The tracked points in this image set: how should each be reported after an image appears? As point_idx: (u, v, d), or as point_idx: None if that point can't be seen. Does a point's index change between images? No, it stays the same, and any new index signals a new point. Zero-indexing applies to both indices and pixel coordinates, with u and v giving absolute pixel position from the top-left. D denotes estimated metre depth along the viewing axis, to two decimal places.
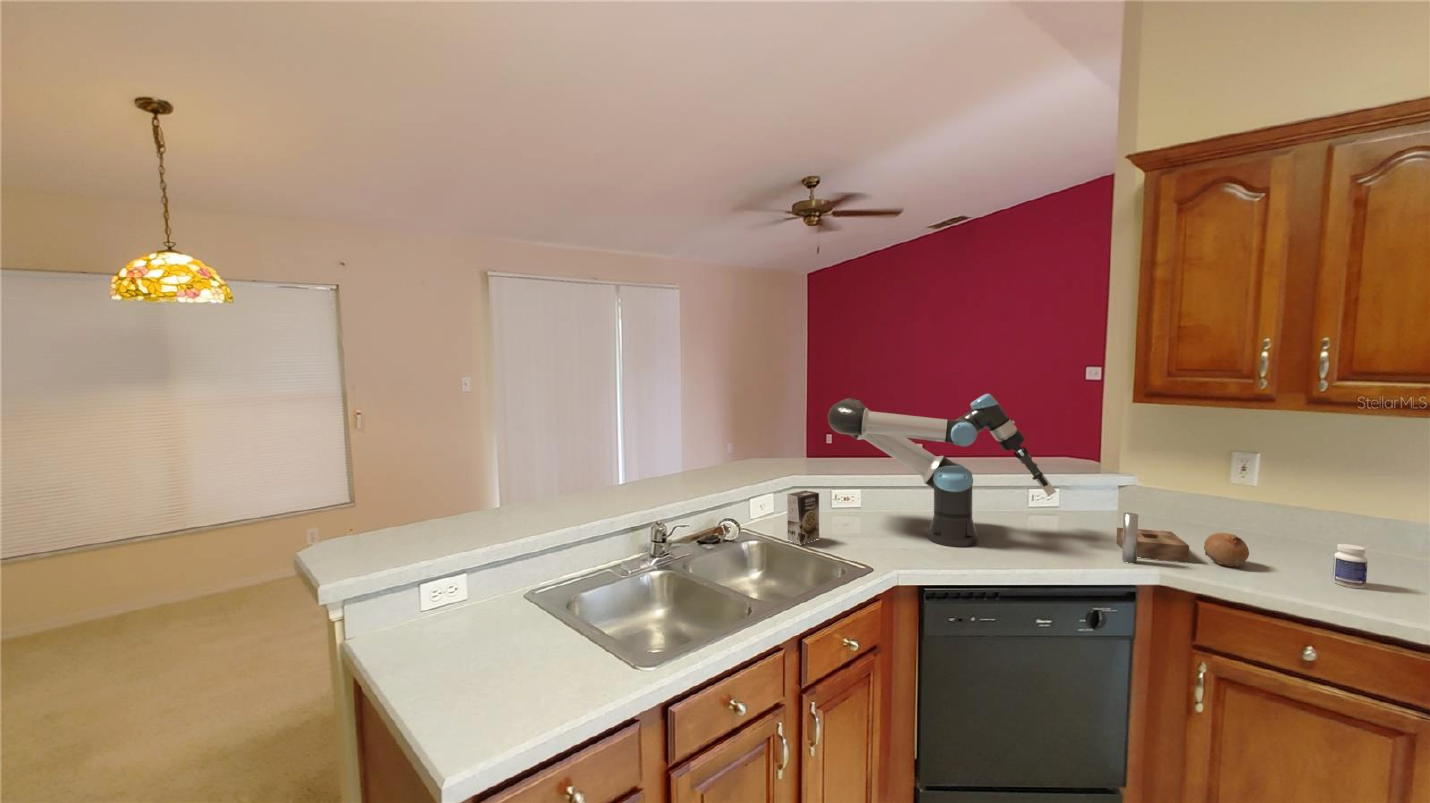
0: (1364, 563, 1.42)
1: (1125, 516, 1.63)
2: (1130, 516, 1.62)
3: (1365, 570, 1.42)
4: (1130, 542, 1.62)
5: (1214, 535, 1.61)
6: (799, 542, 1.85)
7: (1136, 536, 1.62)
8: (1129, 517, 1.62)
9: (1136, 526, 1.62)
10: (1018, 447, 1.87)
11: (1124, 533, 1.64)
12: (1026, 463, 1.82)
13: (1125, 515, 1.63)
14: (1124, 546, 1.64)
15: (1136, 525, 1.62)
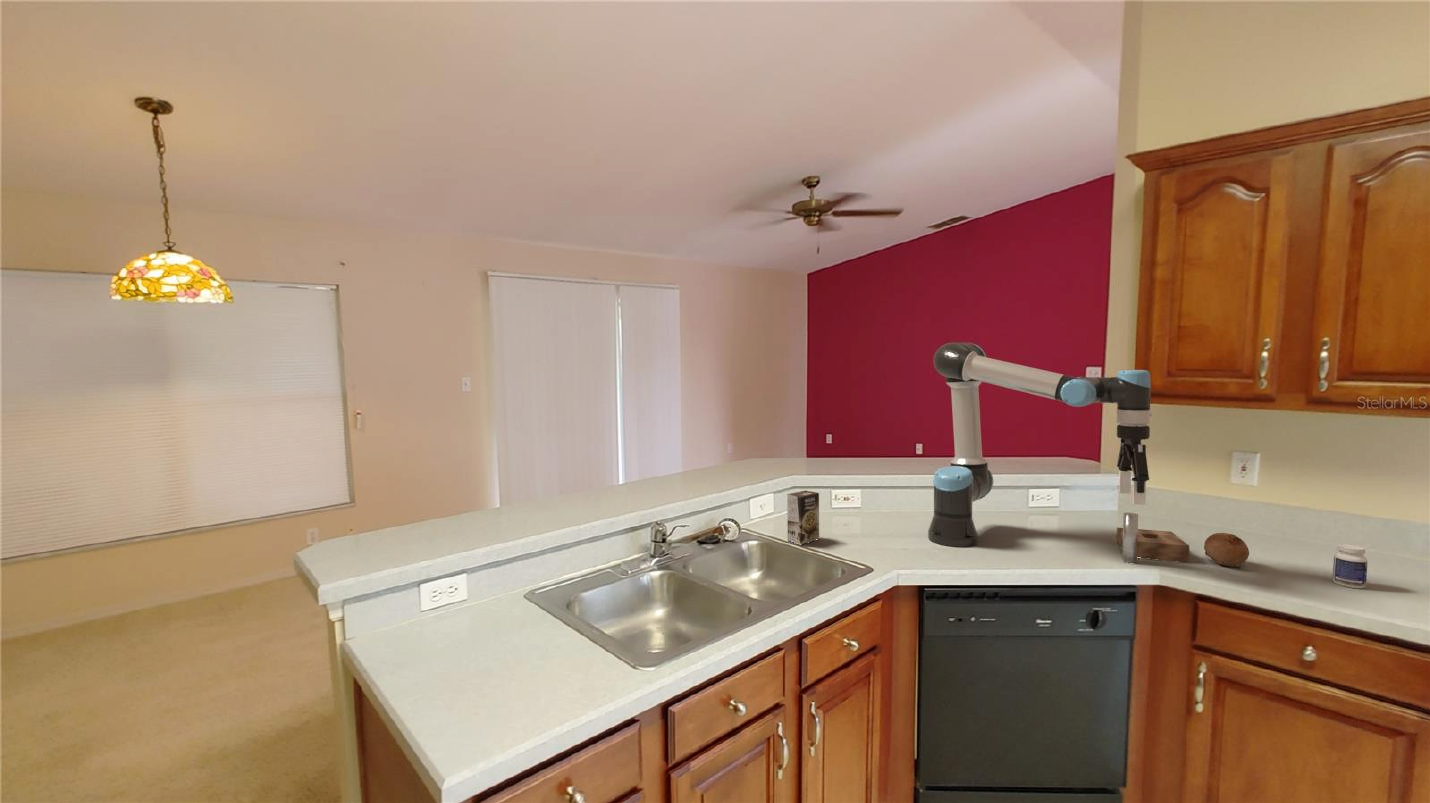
0: (1364, 563, 1.42)
1: (1125, 516, 1.63)
2: (1130, 516, 1.62)
3: (1365, 570, 1.42)
4: (1130, 542, 1.62)
5: (1214, 535, 1.61)
6: (799, 542, 1.85)
7: (1136, 536, 1.62)
8: (1129, 517, 1.62)
9: (1136, 526, 1.62)
10: (1138, 441, 1.58)
11: (1124, 533, 1.64)
12: (1138, 460, 1.55)
13: (1125, 515, 1.63)
14: (1124, 546, 1.64)
15: (1136, 525, 1.62)
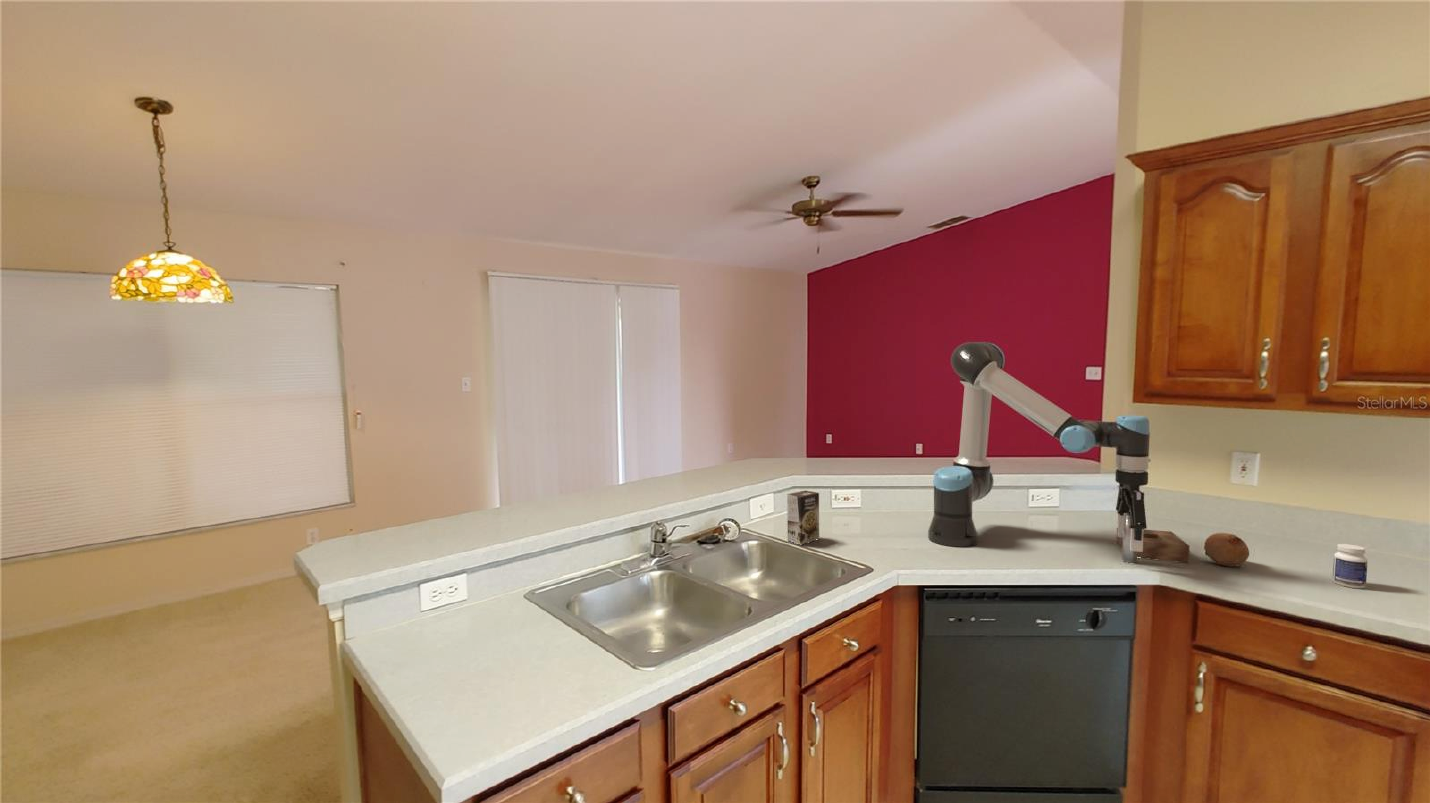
0: (1364, 563, 1.42)
1: (1125, 516, 1.63)
2: (1130, 516, 1.62)
3: (1365, 570, 1.42)
4: None
5: (1214, 535, 1.61)
6: (799, 542, 1.85)
7: None
8: (1129, 517, 1.62)
9: None
10: (1137, 487, 1.59)
11: (1124, 533, 1.64)
12: (1136, 508, 1.56)
13: (1125, 515, 1.63)
14: (1124, 546, 1.64)
15: None
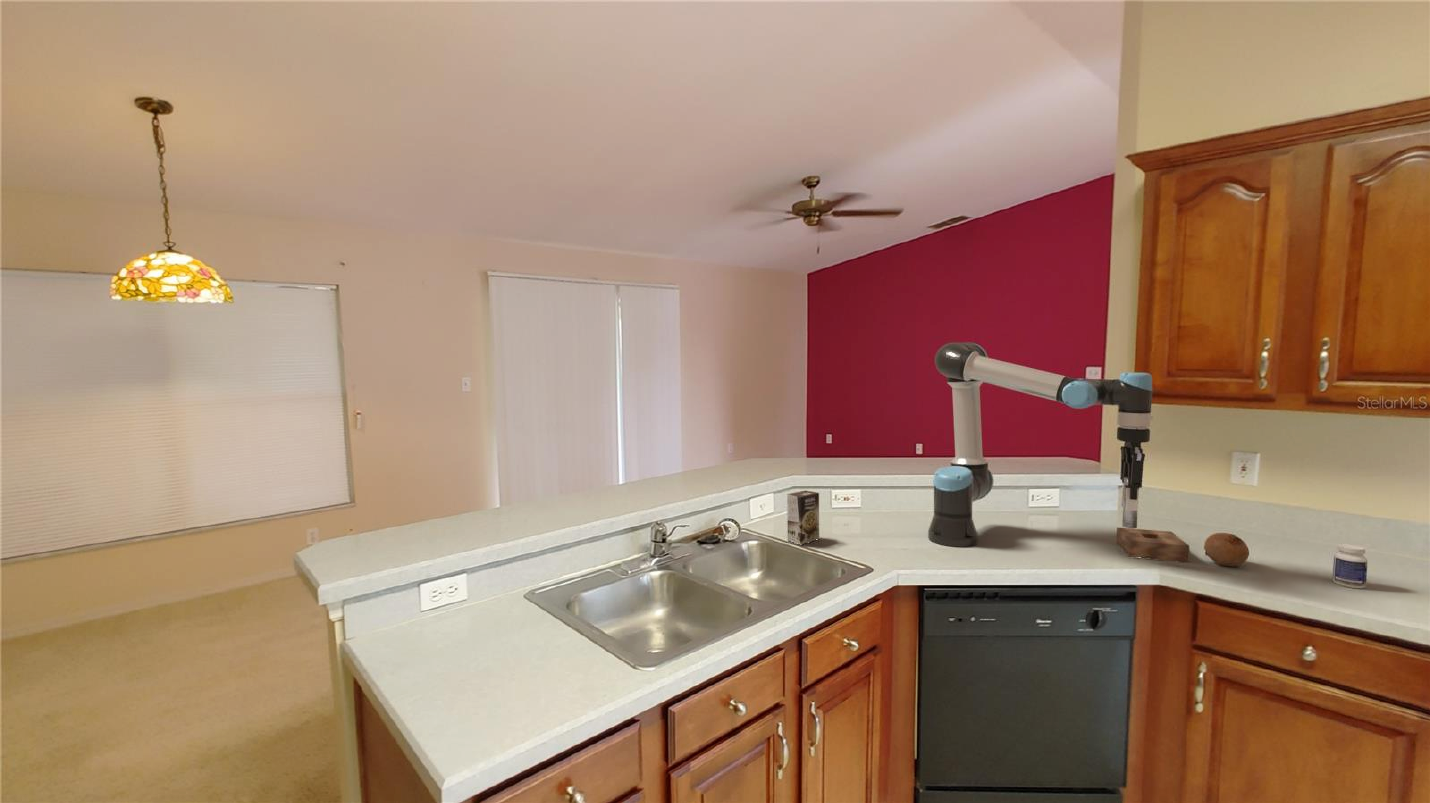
0: (1364, 563, 1.42)
1: (1126, 480, 1.62)
2: None
3: (1365, 570, 1.42)
4: None
5: (1214, 535, 1.61)
6: (799, 542, 1.85)
7: None
8: None
9: None
10: (1138, 444, 1.58)
11: (1124, 498, 1.63)
12: (1134, 469, 1.57)
13: (1126, 479, 1.62)
14: (1124, 511, 1.63)
15: None
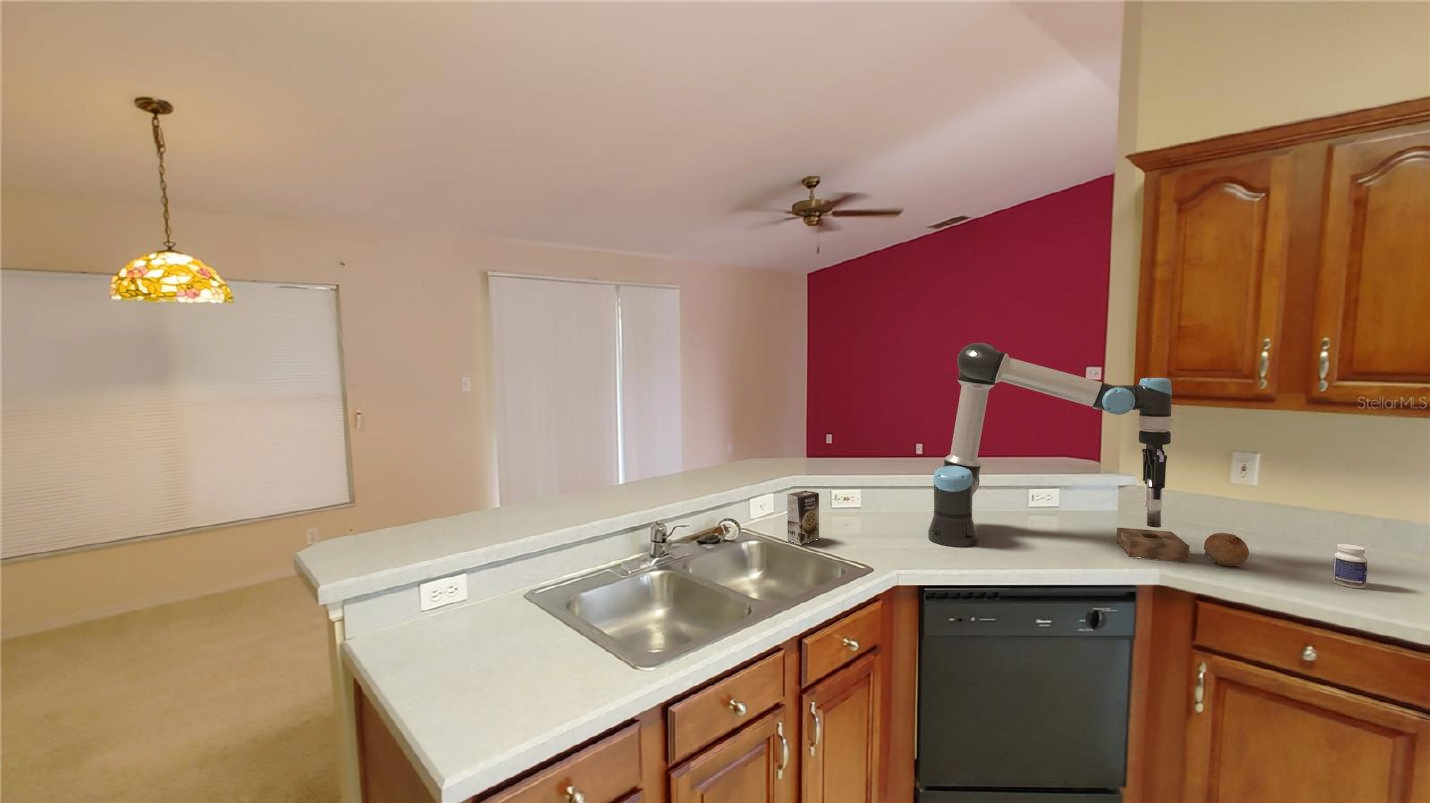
0: (1364, 563, 1.42)
1: (1149, 482, 1.69)
2: None
3: (1365, 570, 1.42)
4: None
5: (1214, 535, 1.61)
6: (799, 542, 1.85)
7: None
8: None
9: None
10: (1160, 446, 1.65)
11: (1148, 498, 1.70)
12: (1157, 470, 1.64)
13: (1149, 481, 1.69)
14: (1148, 511, 1.70)
15: None
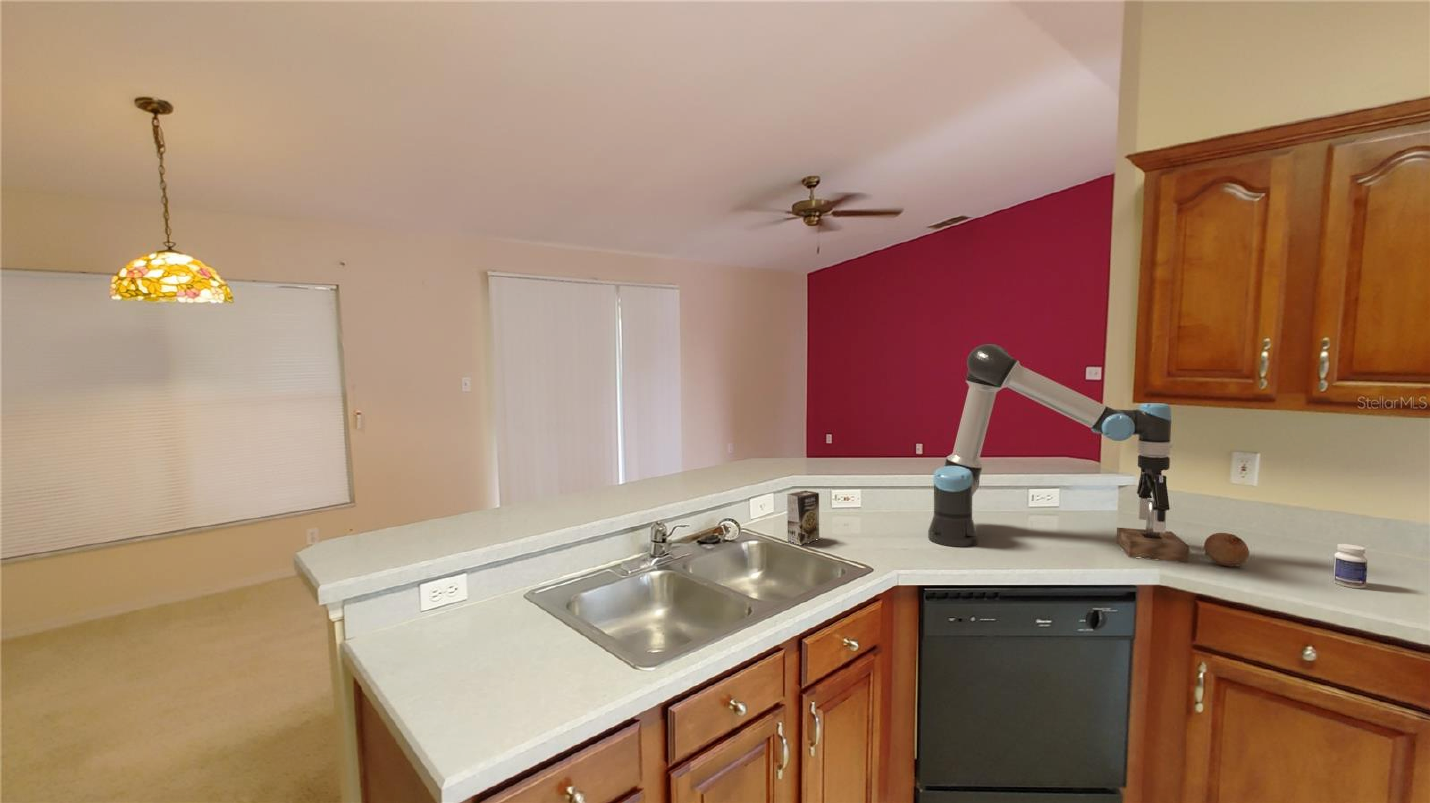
0: (1364, 563, 1.42)
1: (1148, 504, 1.70)
2: (1153, 504, 1.69)
3: (1365, 570, 1.42)
4: None
5: (1214, 535, 1.61)
6: (799, 542, 1.85)
7: None
8: (1152, 504, 1.69)
9: None
10: (1159, 472, 1.66)
11: (1147, 520, 1.70)
12: (1159, 491, 1.63)
13: (1148, 503, 1.70)
14: (1147, 532, 1.71)
15: None
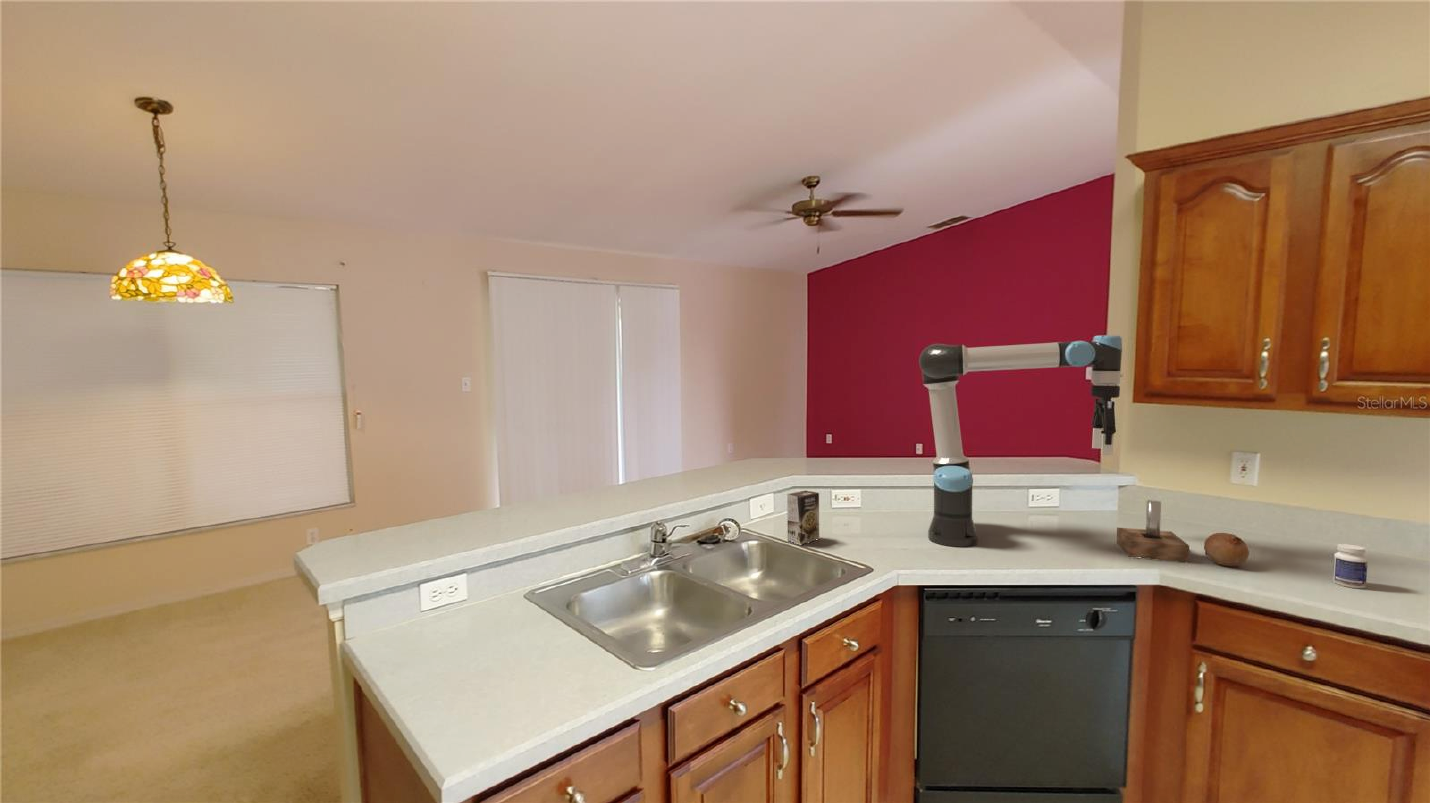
0: (1364, 563, 1.42)
1: (1148, 504, 1.70)
2: (1153, 503, 1.69)
3: (1365, 570, 1.42)
4: (1154, 528, 1.69)
5: (1214, 535, 1.61)
6: (799, 542, 1.85)
7: (1159, 523, 1.69)
8: (1152, 504, 1.69)
9: (1159, 513, 1.69)
10: (1108, 399, 1.76)
11: (1147, 520, 1.71)
12: (1107, 415, 1.73)
13: (1148, 503, 1.70)
14: (1147, 532, 1.71)
15: (1159, 512, 1.69)
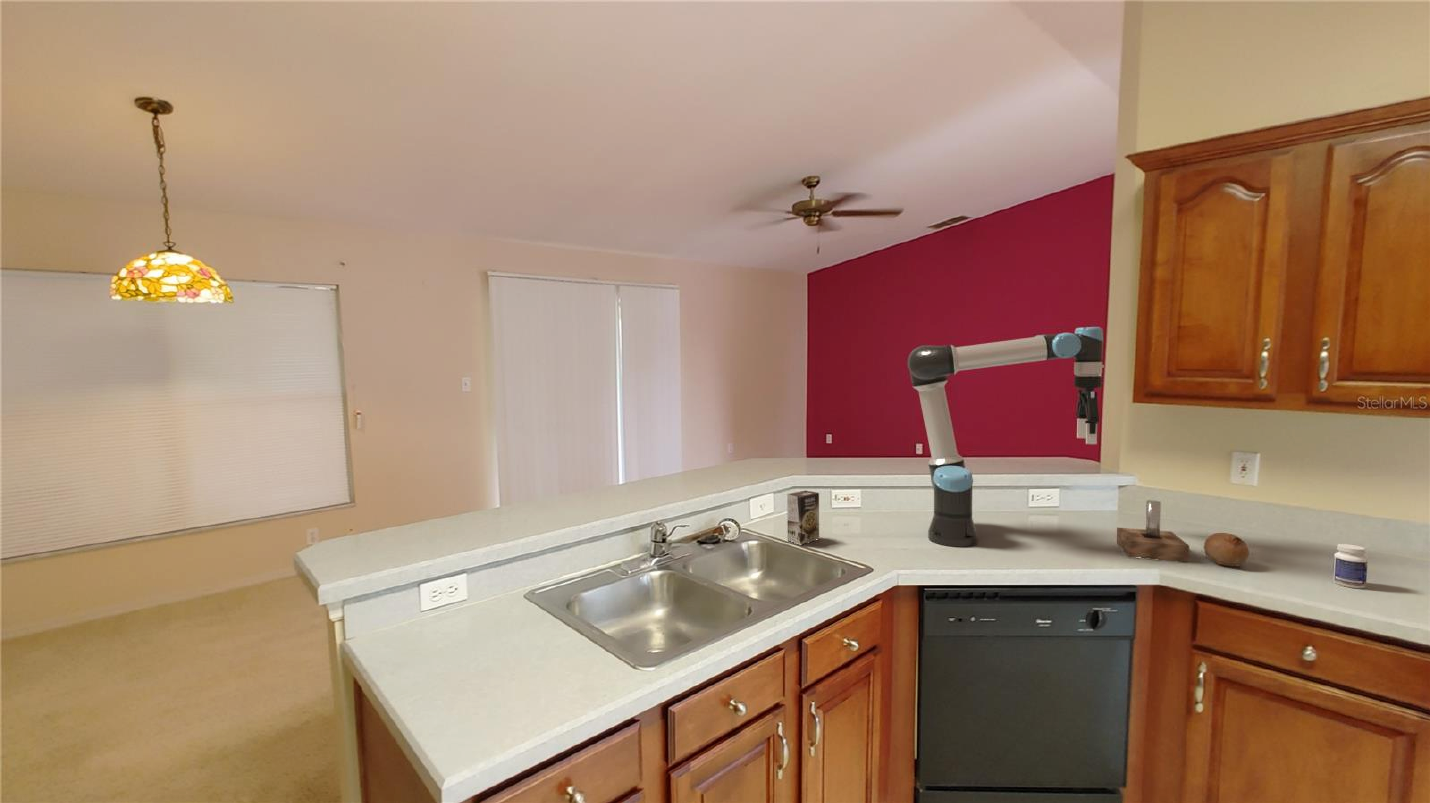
0: (1364, 563, 1.42)
1: (1148, 504, 1.70)
2: (1153, 503, 1.69)
3: (1365, 570, 1.42)
4: (1153, 528, 1.69)
5: (1214, 535, 1.61)
6: (799, 542, 1.85)
7: (1159, 523, 1.69)
8: (1152, 504, 1.69)
9: (1159, 513, 1.69)
10: (1091, 389, 1.80)
11: (1147, 520, 1.71)
12: (1090, 405, 1.77)
13: (1148, 503, 1.70)
14: (1147, 532, 1.71)
15: (1159, 512, 1.69)
